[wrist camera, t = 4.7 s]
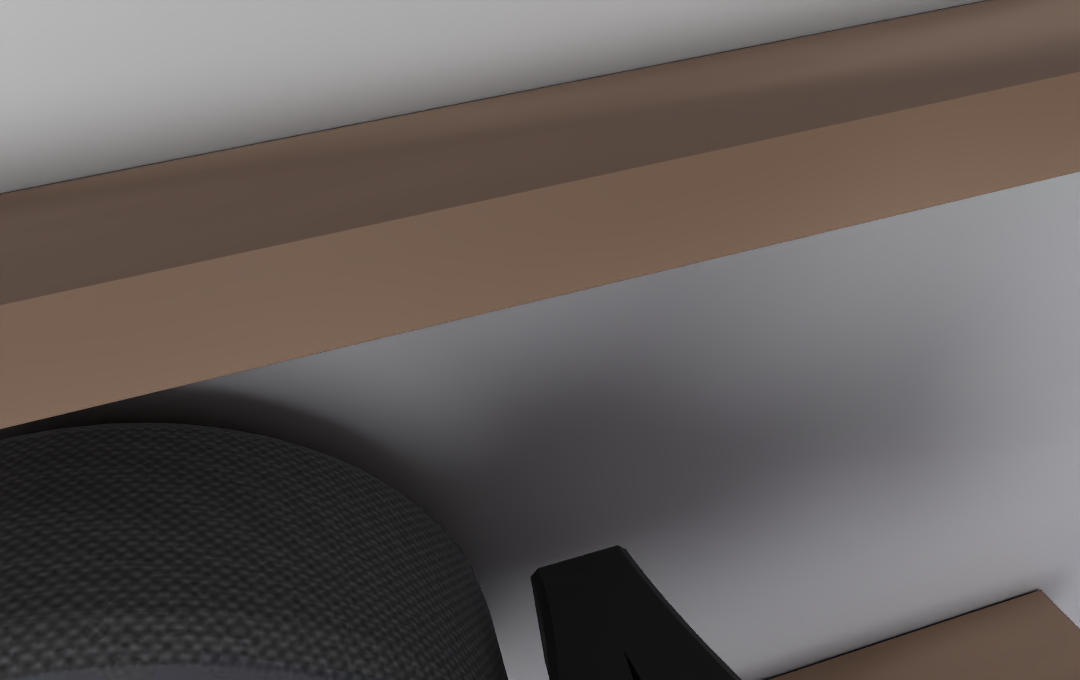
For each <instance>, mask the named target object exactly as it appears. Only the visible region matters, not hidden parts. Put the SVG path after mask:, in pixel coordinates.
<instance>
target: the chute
mask: <svg viewBox="0 0 1080 680" xmlns="http://www.w3.org/2000/svg"><path fill="white" fill-rule="evenodd" d="M1079 171H1080V0H989V1H984V2H979V3H973V4H968V5H963V6H958V7H953V8H948V9H943V10H938V11H933V12H928V13H923V14H917V15H912V16H907V17H902V18H897V19H892V20H887V21H882V22H877V23H872V24H866V25H861V26H856V27H851V28H846V29H841V30H836V31H831V32H826V33H821V34H815V35H810V36H805V37H800V38H795V39H790V40H785V41H780V42H775V43H770V44H764V45H759V46H754V47H749V48H744V49H739V50H734V51H729V52H724V53H719V54H713V55H708V56H703V57H698V58H693V59H688V60H683V61H678V62H673V63H668V64H662V65H657V66H652V67H647V68H642V69H637V70H632V71H627V72H622V73H617V74H612V75H606V76H601V77H596V78H591V79H586V80H581V81H576V82H571V83H566V84H561V85H555V86H550V87H545V88H540V89H535V90H530V91H525V92H520V93H515V94H510V95H504V96H499V97H494V98H489V99H484V100H479V101H474V102H469V103H464V104H459V105H453V106H448V107H443V108H438V109H433V110H428V111H423V112H418V113H413V114H408V115H402V116H397V117H392V118H387V119H382V120H377V121H372V122H367V123H362V124H357V125H351V126H346V127H341V128H336V129H331V130H326V131H321V132H316V133H311V134H306V135H301V136H295V137H290V138H285V139H280V140H275V141H270V142H265V143H260V144H255V145H250V146H244V147H239V148H234V149H229V150H224V151H219V152H214V153H209V154H204V155H199V156H193V157H188V158H183V159H178V160H173V161H168V162H163V163H158V164H153V165H148V166H142V167H137V168H132V169H127V170H122V171H117V172H112V173H107V174H102V175H97V176H91V177H86V178H81V179H76V180H71V181H66V182H61V183H56V184H51V185H46V186H41V187H35V188H30V189H25V190H20V191H15V192H10V193H5V194H0V429H3V428H7V427H11V426H15V425H19V424H23V423H28V422H32V421H36V420H40V419H44V418H49V417H53V416H57V415H61V414H65V413H70V412H74V411H78V410H82V409H86V408H91V407H95V406H99V405H103V404H107V403H111V402H116V401H120V400H124V399H128V398H132V397H137V396H141V395H145V394H149V393H153V392H158V391H162V390H166V389H170V388H174V387H178V386H183V385H187V384H191V383H195V382H199V381H204V380H208V379H212V378H216V377H220V376H225V375H229V374H233V373H237V372H241V371H245V370H250V369H254V368H258V367H262V366H266V365H271V364H275V363H279V362H283V361H287V360H292V359H296V358H300V357H304V356H308V355H313V354H317V353H321V352H325V351H329V350H333V349H338V348H342V347H346V346H350V345H354V344H359V343H363V342H367V341H371V340H375V339H380V338H384V337H388V336H392V335H396V334H400V333H405V332H409V331H413V330H417V329H421V328H426V327H430V326H434V325H438V324H442V323H447V322H451V321H455V320H459V319H463V318H468V317H472V316H476V315H480V314H484V313H488V312H493V311H497V310H501V309H505V308H509V307H514V306H518V305H522V304H526V303H530V302H535V301H539V300H543V299H547V298H551V297H555V296H560V295H564V294H568V293H572V292H576V291H581V290H585V289H589V288H593V287H597V286H602V285H606V284H610V283H614V282H618V281H622V280H627V279H631V278H635V277H639V276H643V275H648V274H652V273H656V272H660V271H664V270H669V269H673V268H677V267H681V266H685V265H690V264H694V263H698V262H702V261H706V260H710V259H715V258H719V257H723V256H727V255H731V254H736V253H740V252H744V251H748V250H752V249H757V248H761V247H765V246H769V245H773V244H777V243H782V242H786V241H790V240H794V239H798V238H803V237H807V236H811V235H815V234H819V233H824V232H828V231H832V230H836V229H840V228H844V227H849V226H853V225H857V224H861V223H865V222H870V221H874V220H878V219H882V218H886V217H891V216H895V215H899V214H903V213H907V212H912V211H916V210H920V209H924V208H928V207H932V206H937V205H941V204H945V203H949V202H953V201H958V200H962V199H966V198H970V197H974V196H979V195H983V194H987V193H991V192H995V191H999V190H1004V189H1008V188H1012V187H1016V186H1020V185H1025V184H1029V183H1033V182H1037V181H1041V180H1046V179H1050V178H1054V177H1058V176H1062V175H1067V174H1071V173H1075V172H1079ZM769 680H1080V629H1079V628H1078V627H1077V626H1076V625H1075V624H1074V623H1073V622H1072V621H1071V620H1070V619H1069V618H1068V617H1067V616H1066V615H1065V614H1064V613H1063V612H1062V611H1061V610H1060V609H1059V608H1058V607H1057V606H1056V605H1055V604H1054V603H1053V602H1052V601H1051V600H1050V599H1049V598H1048V597H1047V596H1046V595H1045V594H1044V593H1043V592H1042V591H1041V590H1039V591H1036V592H1033V593H1030V594H1027V595H1024V596H1021V597H1018V598H1015V599H1012V600H1009V601H1006V602H1003V603H1000V604H997V605H993V606H990V607H987V608H984V609H981V610H978V611H975V612H972V613H969V614H966V615H963V616H960V617H957V618H954V619H951V620H948V621H945V622H942V623H939V624H936V625H933V626H930V627H927V628H924V629H921V630H918V631H915V632H912V633H909V634H906V635H903V636H900V637H897V638H894V639H891V640H888V641H884V642H881V643H878V644H875V645H872V646H869V647H866V648H863V649H860V650H857V651H854V652H851V653H848V654H845V655H842V656H839V657H836V658H833V659H830V660H827V661H824V662H821V663H818V664H815V665H812V666H809V667H806V668H803V669H800V670H797V671H794V672H791V673H788V674H785V675H782V676H779V677H775V678H772V679H769Z"/></svg>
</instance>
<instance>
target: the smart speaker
mask: <svg viewBox="0 0 1080 680" xmlns="http://www.w3.org/2000/svg"><path fill="white" fill-rule="evenodd" d="M0 680H508V678H507V674H506V670H505V666H504V663H503V659H502V655H501V652H500V648H499V644H498V641H497V637H496V633H495V630H494V626H493V622H492V619H491V615H490V612H489V609H488V606H487V603H486V600H485V598H484V595H483V593H482V591H481V588H480V586H479V584H478V581H477V579H476V577H475V575H474V572H473V570H472V568H471V567H470V565H469V563H468V562H467V560H466V559H465V557H464V555H463V554H462V552H461V551H460V549H459V548H458V547H457V545H456V544H455V543H454V542H453V541H452V539H451V538H450V537H449V536H448V535H447V533H446V532H445V531H444V530H443V529H442V528H441V527H440V526H439V525H438V524H437V523H436V522H435V521H434V520H433V519H431V518H430V517H429V516H428V515H427V514H426V513H425V512H424V511H423V510H422V509H421V508H419V507H418V506H417V505H416V504H415V503H413V502H412V501H411V500H409V499H408V498H407V497H405V496H404V495H403V494H401V493H400V492H399V491H397V490H396V489H395V488H393V487H391V486H389V485H388V484H386V483H384V482H383V481H381V480H379V479H378V478H376V477H374V476H373V475H371V474H369V473H367V472H365V471H363V470H361V469H359V468H357V467H355V466H353V465H350V464H348V463H346V462H344V461H342V460H340V459H337V458H335V457H332V456H329V455H327V454H324V453H321V452H318V451H316V450H313V449H310V448H307V447H304V446H301V445H297V444H293V443H290V442H286V441H283V440H279V439H275V438H272V437H268V436H263V435H258V434H253V433H248V432H243V431H237V430H232V429H225V428H217V427H208V426H200V425H191V424H169V423H120V424H101V425H91V426H81V427H71V428H61V429H54V430H49V431H43V432H37V433H31V434H25V435H19V436H14V437H10V438H6V439H2V440H0Z"/></svg>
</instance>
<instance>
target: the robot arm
mask: <svg viewBox="0 0 1080 680" xmlns="http://www.w3.org/2000/svg"><path fill="white" fill-rule="evenodd" d="M531 582H532V588H533V594H534V600H535V606H536V612H537V617H538V623H539V629H540V635H541V641H542V647H543V653H544V658H545V664H546V667H547V671H548V675H549V680H741V679H740V678H739V677H738V676H737V675H736V674H735V673H734V672H733V671H732V670H731V669H730V668H729V667H728V665H727V664H726V663H725V662H724V661H723V660H722V659H721V658H720V657H719V656H718V655H717V654H716V653H715V652H714V651H713V650H712V649H711V648H710V647H709V646H708V645H707V644H706V643H705V642H704V641H703V640H702V639H701V638H700V637H699V636H698V635H697V634H696V632H695V631H694V630H693V629H692V628H691V627H690V626H689V625H688V624H687V623H686V622H685V620H684V619H683V618H682V617H681V616H680V615H679V614H678V613H677V611H676V610H675V609H674V608H673V607H672V606H671V605H670V604H669V603H668V601H667V600H666V599H665V598H664V597H663V595H662V594H661V593H660V592H659V591H658V590H657V588H656V587H655V586H654V585H653V584H652V582H651V581H650V580H649V579H648V578H647V576H646V575H645V574H644V573H643V571H642V570H641V569H640V567H639V566H638V565H637V564H636V562H635V561H634V560H633V558H632V557H631V556H630V554H629V553H628V552H627V550H626V549H624V548H622V547H620V546H618V545H617V546H614V547H610V548H607V549H603V550H600V551H596V552H593V553H589V554H586V555H582V556H579V557H576V558H572V559H569V560H565V561H562V562H558V563H555V564H551V565H548V566H544V567H541V568H538V569H537V570H536V571H535V572H534V574H533V575H532V576H531Z"/></svg>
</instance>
